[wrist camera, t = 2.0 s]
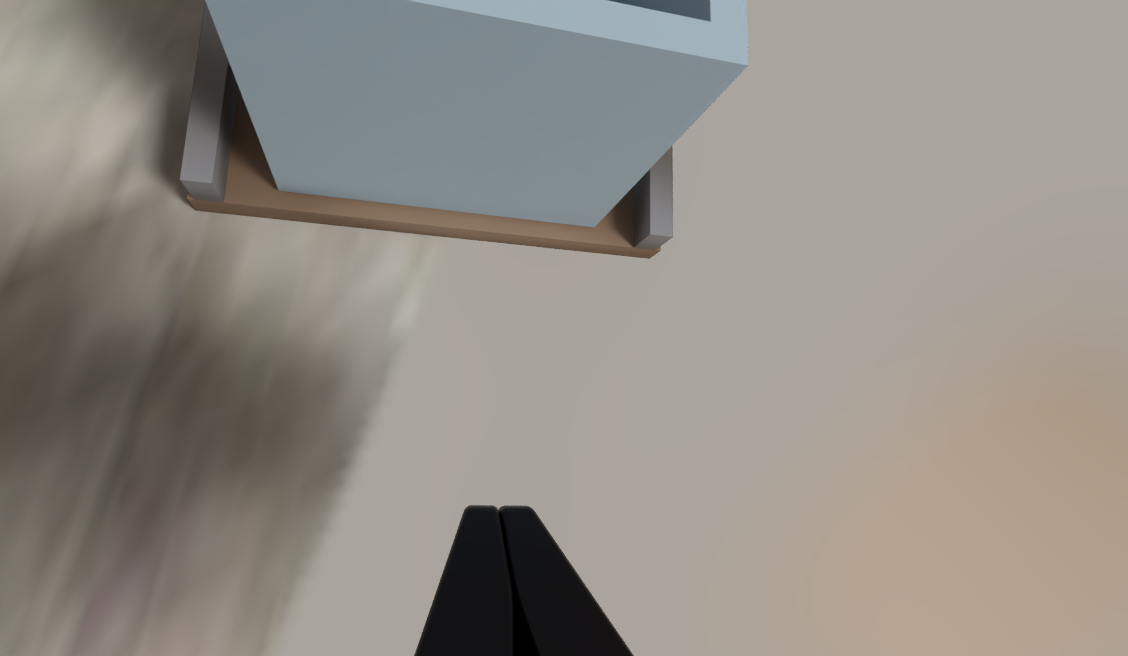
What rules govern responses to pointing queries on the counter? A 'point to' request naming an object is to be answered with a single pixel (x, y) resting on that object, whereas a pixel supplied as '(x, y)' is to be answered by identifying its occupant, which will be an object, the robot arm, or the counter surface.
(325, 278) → the counter surface
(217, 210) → the brown wooden tray
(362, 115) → the box
